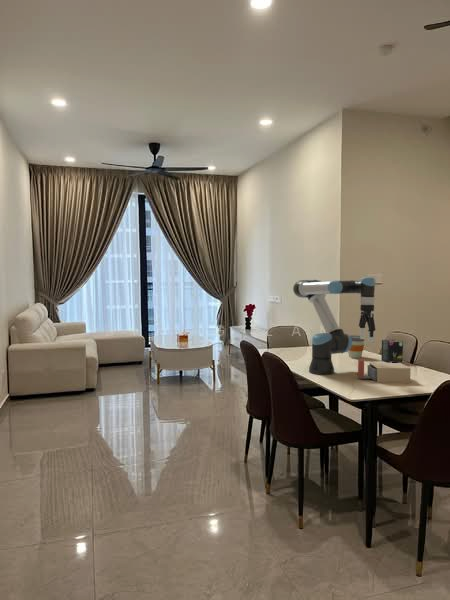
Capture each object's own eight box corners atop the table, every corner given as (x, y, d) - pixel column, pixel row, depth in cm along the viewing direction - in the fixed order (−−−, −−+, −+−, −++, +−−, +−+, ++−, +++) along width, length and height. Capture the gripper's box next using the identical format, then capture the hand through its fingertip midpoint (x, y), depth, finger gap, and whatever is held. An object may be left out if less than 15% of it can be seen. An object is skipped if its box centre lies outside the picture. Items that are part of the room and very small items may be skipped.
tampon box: (389, 363, 298) (389, 341, 297) (380, 360, 307) (381, 339, 306) (403, 362, 301) (403, 341, 300) (394, 359, 310) (394, 339, 309)
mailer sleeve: (377, 382, 245) (377, 368, 244) (369, 376, 260) (369, 362, 259) (410, 382, 244) (410, 368, 244) (400, 376, 259) (400, 362, 259)
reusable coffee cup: (362, 355, 326) (362, 335, 325) (365, 358, 314) (366, 337, 313) (344, 355, 328) (345, 335, 327) (347, 358, 315) (348, 337, 314)
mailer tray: (361, 380, 246) (361, 362, 246) (355, 375, 258) (355, 358, 258) (404, 380, 245) (405, 362, 245) (396, 375, 258) (397, 358, 257)
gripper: (382, 305, 242) (381, 344, 243) (366, 302, 267) (365, 337, 268) (368, 305, 242) (367, 344, 243) (353, 302, 266) (353, 337, 268)
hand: (366, 340), depth 255 cm, fingers open, 13 cm apart
